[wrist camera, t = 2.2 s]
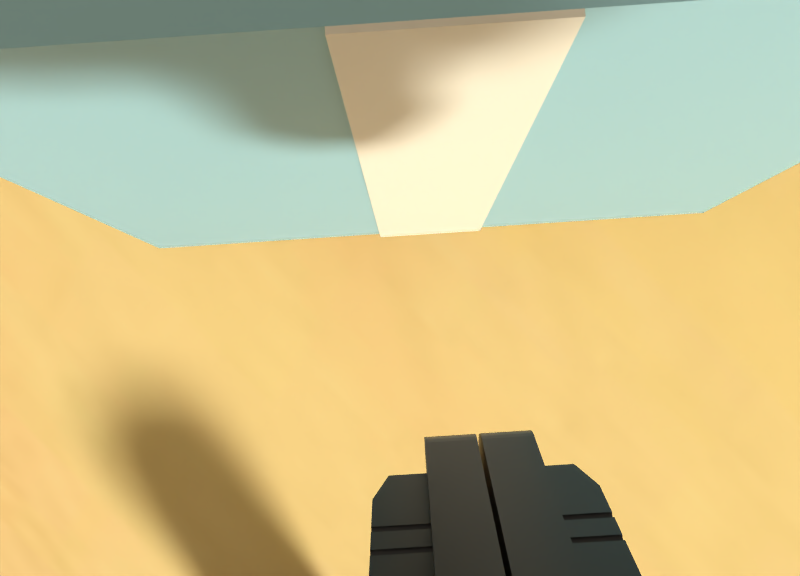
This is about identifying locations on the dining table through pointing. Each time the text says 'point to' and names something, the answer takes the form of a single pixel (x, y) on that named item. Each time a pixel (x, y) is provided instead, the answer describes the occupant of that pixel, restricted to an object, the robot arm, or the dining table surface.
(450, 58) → the lid
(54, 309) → the dining table surface
